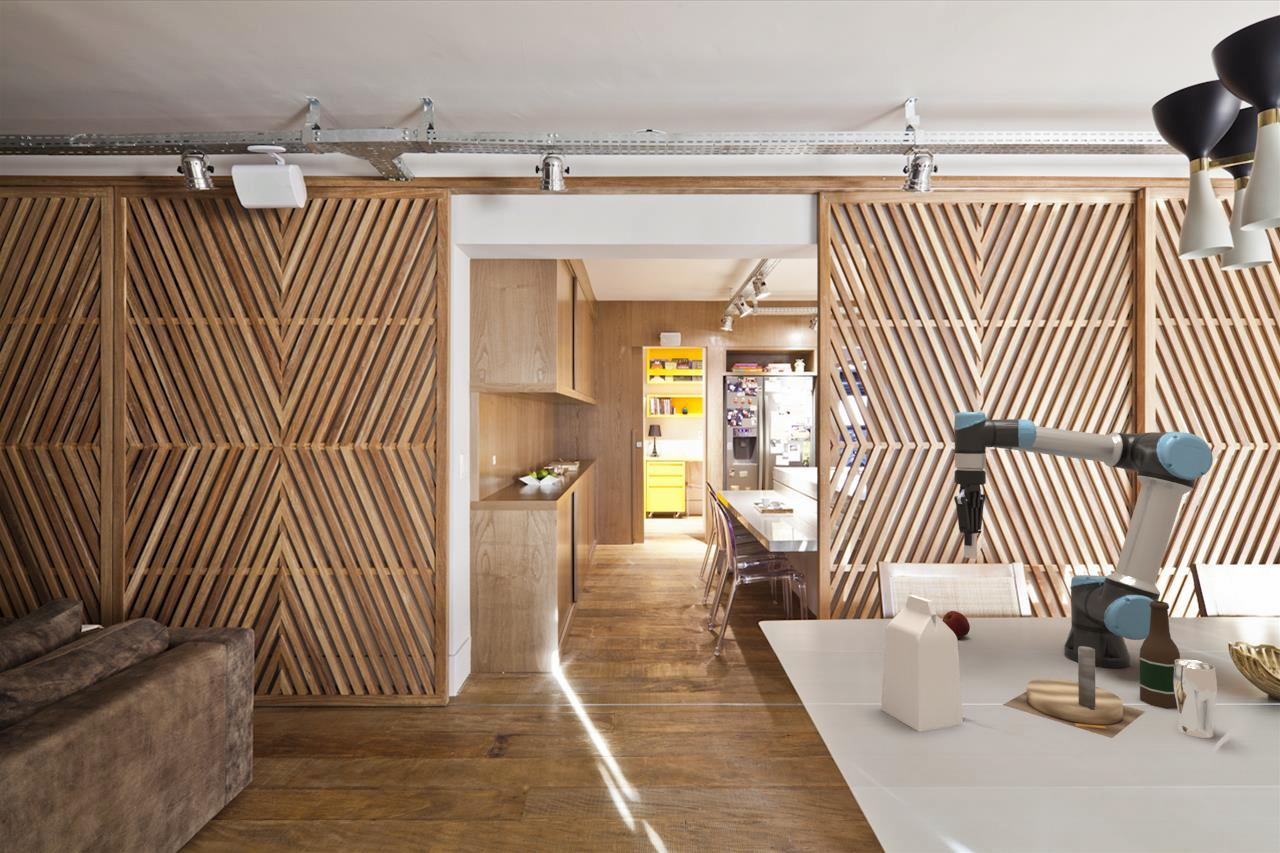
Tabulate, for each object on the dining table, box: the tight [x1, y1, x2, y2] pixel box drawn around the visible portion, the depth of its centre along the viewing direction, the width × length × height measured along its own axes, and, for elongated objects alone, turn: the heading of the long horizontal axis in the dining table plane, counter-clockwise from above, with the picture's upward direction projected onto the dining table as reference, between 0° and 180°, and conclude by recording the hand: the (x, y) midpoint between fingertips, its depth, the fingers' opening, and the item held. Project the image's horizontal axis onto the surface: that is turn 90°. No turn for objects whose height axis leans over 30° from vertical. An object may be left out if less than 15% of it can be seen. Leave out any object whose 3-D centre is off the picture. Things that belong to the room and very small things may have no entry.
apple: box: [941, 610, 971, 639], centre depth 205 cm, size 7×8×8 cm
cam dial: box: [1025, 646, 1124, 724], centre depth 148 cm, size 18×18×15 cm
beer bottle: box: [1139, 600, 1181, 710], centre depth 152 cm, size 8×8×24 cm
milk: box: [880, 594, 964, 732], centre depth 147 cm, size 12×12×26 cm
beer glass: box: [1173, 658, 1218, 739], centre depth 137 cm, size 7×7×15 cm
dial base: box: [1002, 691, 1146, 739], centre depth 148 cm, size 21×21×2 cm
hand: (970, 557), depth 178 cm, fingers closed
